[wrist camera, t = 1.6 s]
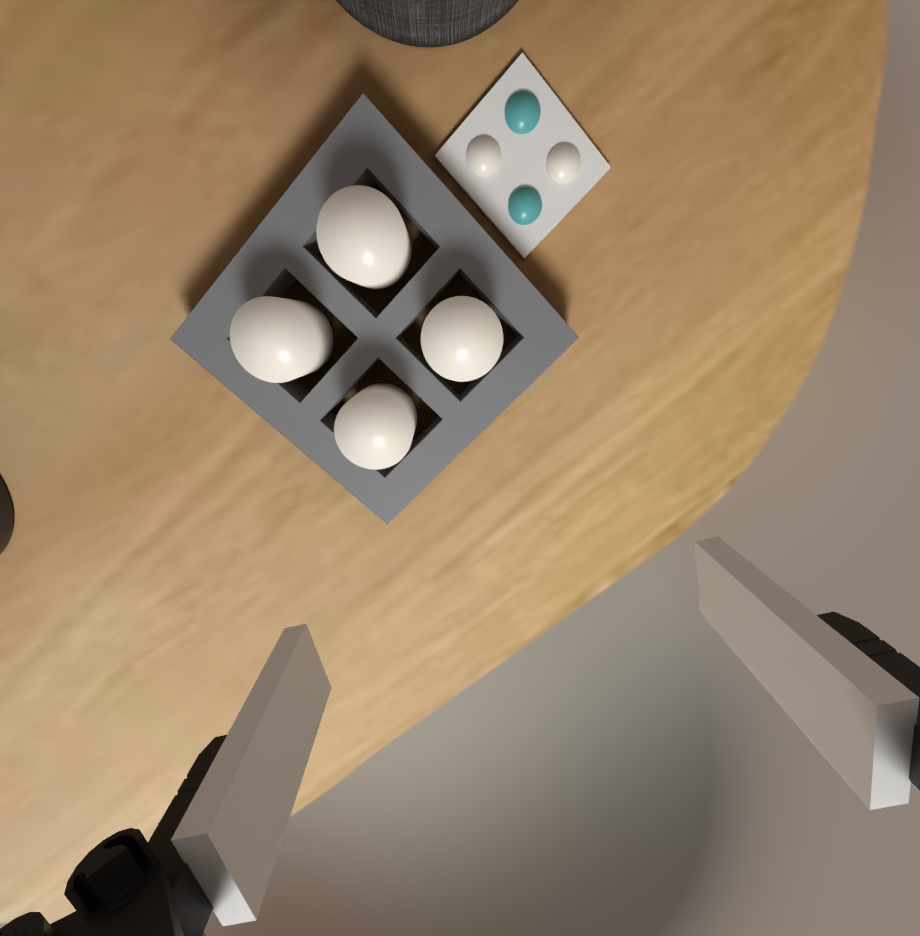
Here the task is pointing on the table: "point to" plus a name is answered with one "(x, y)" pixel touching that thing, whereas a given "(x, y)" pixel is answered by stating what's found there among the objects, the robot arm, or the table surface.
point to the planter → (427, 19)
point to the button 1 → (280, 338)
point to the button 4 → (461, 338)
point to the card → (522, 157)
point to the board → (379, 336)
